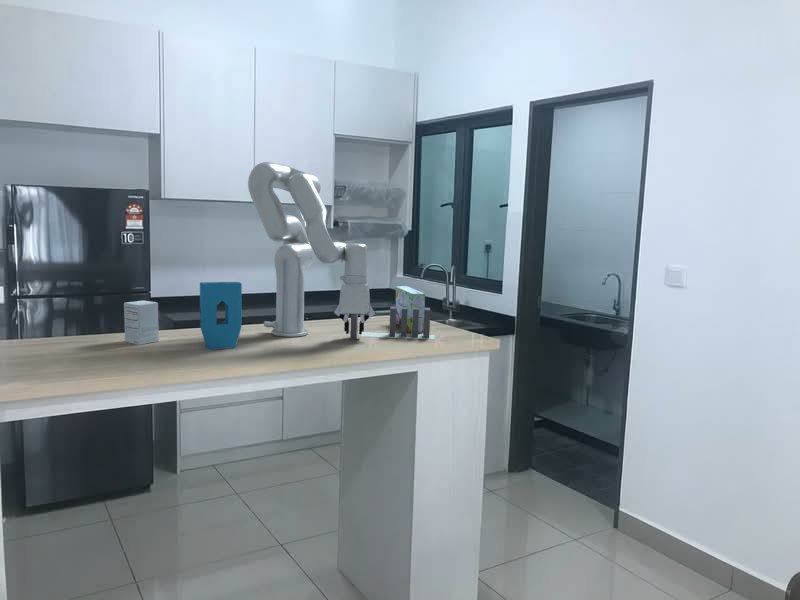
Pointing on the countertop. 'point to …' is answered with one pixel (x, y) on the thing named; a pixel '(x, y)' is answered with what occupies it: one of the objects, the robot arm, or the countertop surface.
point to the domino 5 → (426, 323)
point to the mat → (386, 335)
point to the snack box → (410, 305)
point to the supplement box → (141, 322)
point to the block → (209, 299)
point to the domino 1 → (354, 326)
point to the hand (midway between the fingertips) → (354, 333)
